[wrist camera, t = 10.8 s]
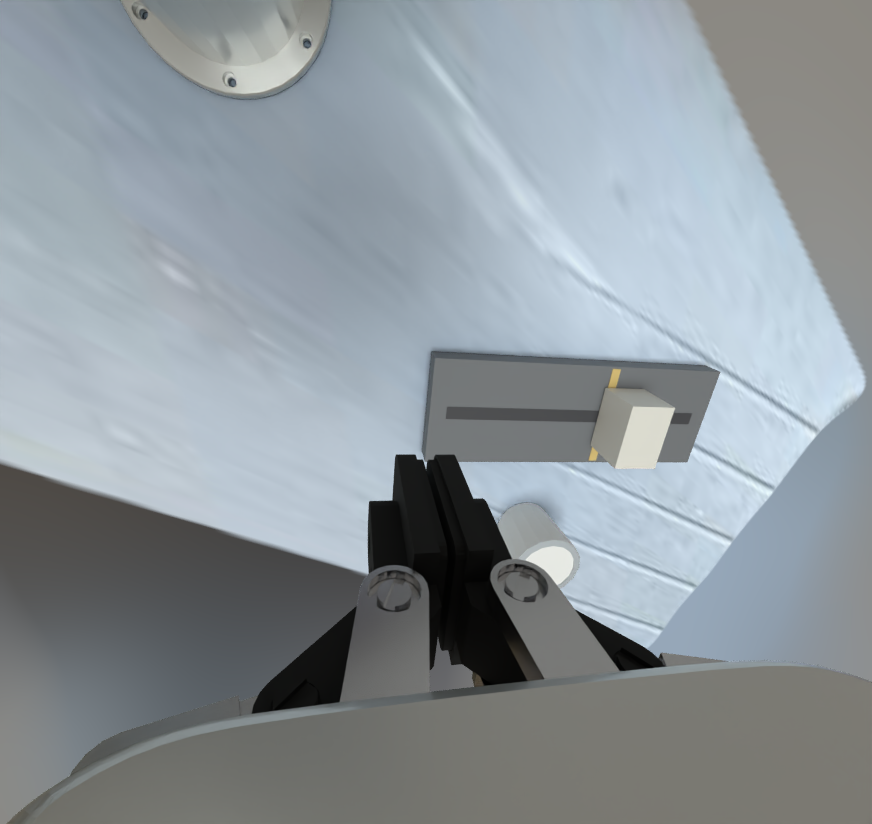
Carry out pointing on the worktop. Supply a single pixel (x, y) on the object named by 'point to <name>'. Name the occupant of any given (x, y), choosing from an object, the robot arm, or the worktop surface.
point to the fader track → (549, 405)
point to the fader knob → (631, 428)
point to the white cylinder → (539, 541)
